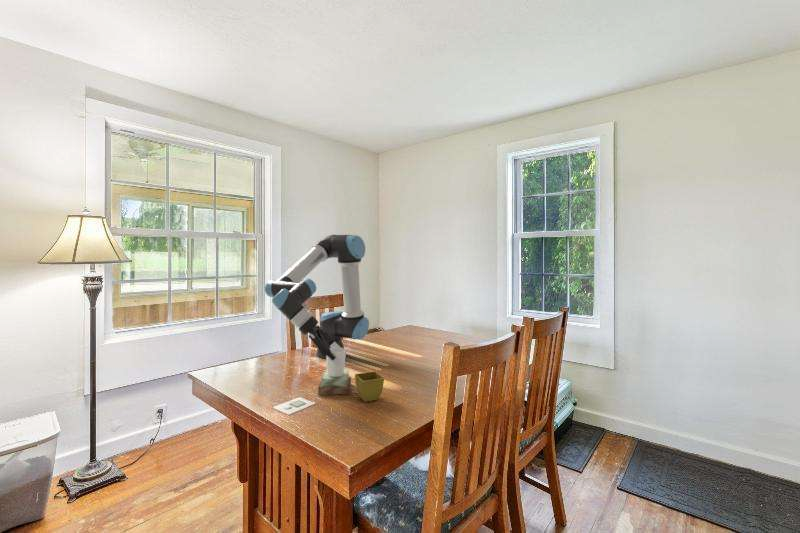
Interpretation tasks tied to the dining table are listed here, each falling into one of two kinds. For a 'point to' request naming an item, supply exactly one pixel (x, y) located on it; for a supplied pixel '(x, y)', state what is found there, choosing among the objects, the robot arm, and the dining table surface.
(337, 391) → the tower base
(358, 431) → the dining table surface
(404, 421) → the dining table surface
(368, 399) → the flower pot
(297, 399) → the page
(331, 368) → the white cup
